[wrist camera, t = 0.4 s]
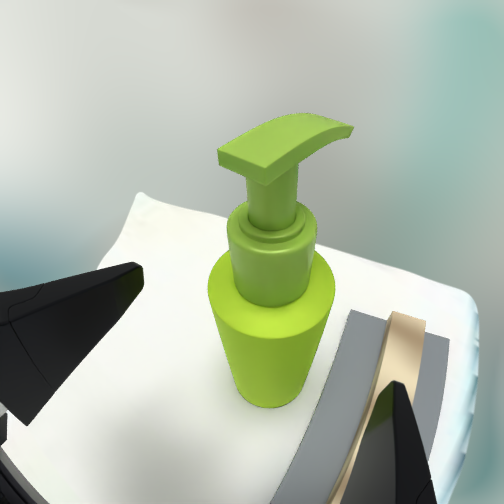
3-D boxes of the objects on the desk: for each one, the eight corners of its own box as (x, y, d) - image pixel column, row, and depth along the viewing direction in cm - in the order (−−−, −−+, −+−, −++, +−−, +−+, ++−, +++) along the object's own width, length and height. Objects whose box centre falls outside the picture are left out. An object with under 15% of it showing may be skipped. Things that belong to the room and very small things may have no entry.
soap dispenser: (325, 362, 23) (404, 132, 9) (272, 422, 20) (291, 227, 5) (274, 325, 26) (277, 94, 11) (220, 377, 23) (138, 149, 8)
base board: (391, 541, 10) (394, 543, 10) (262, 515, 14) (262, 517, 13) (445, 342, 23) (449, 338, 22) (349, 313, 26) (351, 309, 26)
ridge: (353, 539, 11) (359, 543, 10) (310, 531, 12) (314, 536, 11) (418, 330, 23) (425, 320, 22) (387, 320, 24) (392, 310, 23)
